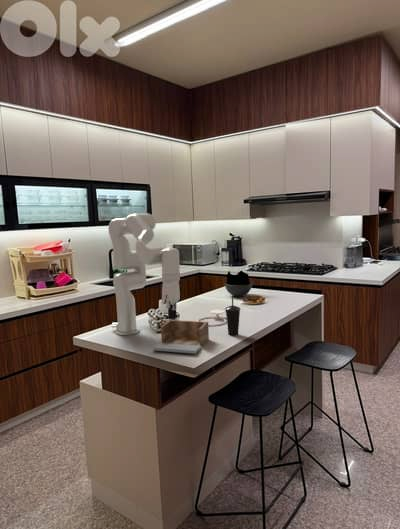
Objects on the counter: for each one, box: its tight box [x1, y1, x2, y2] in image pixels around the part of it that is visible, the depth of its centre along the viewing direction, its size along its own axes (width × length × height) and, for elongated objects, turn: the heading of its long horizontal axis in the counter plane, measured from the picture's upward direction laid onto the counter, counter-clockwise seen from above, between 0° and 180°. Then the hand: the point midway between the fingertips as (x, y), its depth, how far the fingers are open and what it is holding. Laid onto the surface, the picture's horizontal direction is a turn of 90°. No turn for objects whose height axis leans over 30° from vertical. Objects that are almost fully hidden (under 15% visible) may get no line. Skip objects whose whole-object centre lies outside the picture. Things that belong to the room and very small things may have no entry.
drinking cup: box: [224, 295, 241, 337], centre depth 184 cm, size 8×8×20 cm
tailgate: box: [151, 342, 202, 355], centre depth 165 cm, size 20×1×9 cm
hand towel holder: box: [196, 309, 227, 327], centre depth 210 cm, size 17×4×21 cm
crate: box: [160, 319, 210, 348], centre depth 176 cm, size 20×11×9 cm, turn 73°
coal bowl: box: [224, 270, 253, 298], centre depth 270 cm, size 20×20×19 cm
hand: (172, 318), depth 161 cm, fingers closed
